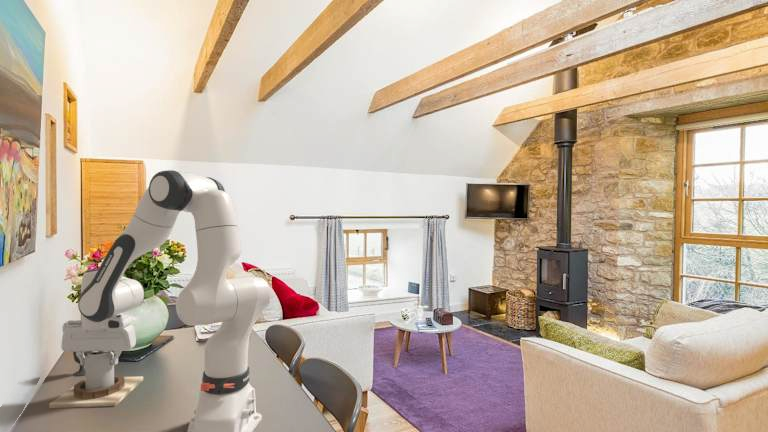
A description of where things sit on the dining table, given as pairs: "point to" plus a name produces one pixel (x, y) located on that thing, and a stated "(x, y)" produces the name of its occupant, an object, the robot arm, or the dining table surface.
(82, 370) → the sundae
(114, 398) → the ring board
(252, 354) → the dining table surface
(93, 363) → the can
